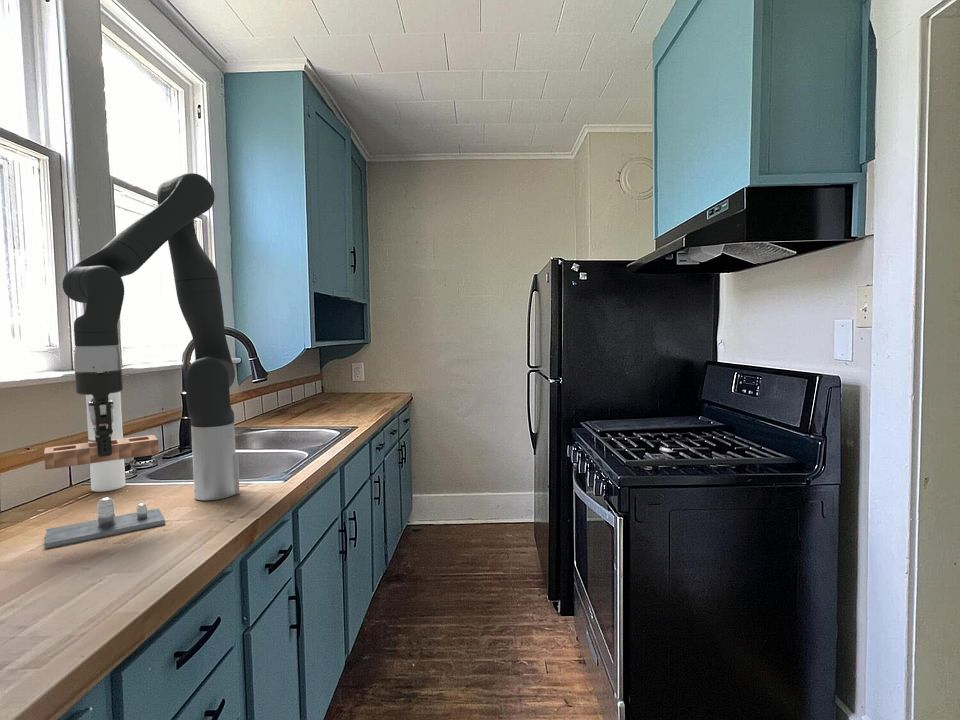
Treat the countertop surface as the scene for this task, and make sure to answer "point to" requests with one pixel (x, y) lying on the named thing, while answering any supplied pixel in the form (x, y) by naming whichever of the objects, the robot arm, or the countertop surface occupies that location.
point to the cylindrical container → (107, 472)
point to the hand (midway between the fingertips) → (103, 452)
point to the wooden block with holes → (89, 452)
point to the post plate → (101, 531)
